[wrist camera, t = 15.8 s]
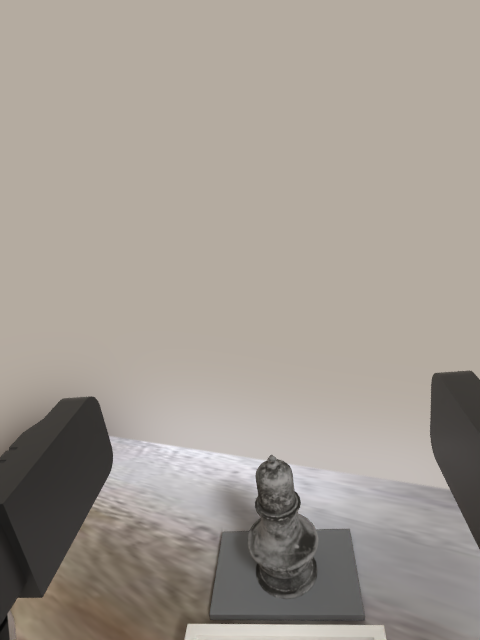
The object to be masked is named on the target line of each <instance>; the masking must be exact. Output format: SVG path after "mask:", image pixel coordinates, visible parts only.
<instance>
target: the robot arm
mask: <svg viewBox="0 0 480 640" xmlns="http://www.w3.org/2000/svg"><path fill="white" fill-rule="evenodd" d="M430 423H431V424H430V435H431V436H430V437H431V443H432V449H433V453H434V456H435V459H436V461H437V463H438V465H439V467H440V469H441V471H442V474H443V476H444V478H445V480H446V482H447V484H448V486H449V488H450V490H451V492H452V494H453V496H454V498H455V500H456V502H457V504H458V506H459V508H460V510H461V512H462V514H463V516H464V518H465V520H466V522H467V524H468V526H469V528H470V531H471V533H472V535H473V537H474V539H475V541H476V543H477V545H478V547H479V549H480V380H479V378H478V377H477V376H476V375H475V374H474V373H473V372H472V371H458V372H445V373H435V374H434V375H433V377H432V384H431V422H430ZM112 463H113V451H112V446H111V443H110V439H109V436H108V432H107V429H106V425H105V422H104V419H103V415H102V412H101V408H100V405H99V403H98V401H97V399H96V398H95V397H79V398H65V399H62V400H60V401H59V402H58V404H57V405H56V406H55V407H54V408H53V409H52V410H51V412H49V413H48V415H47V416H46V417H45V418H44V419H43V420H41V421H40V422H38V423H37V424H35V425H34V426H32V427H31V428H29V429H28V430H26V431H25V432H23V433H22V434H21V435H20V437H19V438H18V439H17V440H16V441H15V442H14V443H13V444H12V445H11V446H10V447H9V451H6V452H5V453H4V454H3V455H2V456H1V457H0V640H17V638H16V629H15V621H14V617H13V615H12V613H11V611H10V609H11V607H12V606H13V604H14V602H15V601H16V599H17V598H42V597H43V596H44V594H45V592H46V590H47V588H48V586H49V585H50V583H51V581H52V579H53V577H54V575H55V574H56V572H57V570H58V568H59V566H60V564H61V562H62V561H63V559H64V557H65V555H66V553H67V551H68V550H69V548H70V546H71V544H72V542H73V540H74V539H75V537H76V535H77V533H78V531H79V529H80V527H81V526H82V524H83V522H84V520H85V518H86V516H87V515H88V513H89V511H90V509H91V507H92V505H93V503H94V502H95V500H96V498H97V496H98V494H99V492H100V491H101V489H102V487H103V485H104V483H105V481H106V480H107V478H108V476H109V474H110V471H111V468H112Z"/></svg>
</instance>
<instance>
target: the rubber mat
mask: <svg viewBox="0 0 480 640" xmlns="http://www.w3.org/2000/svg"><path fill="white" fill-rule="evenodd" d="M316 531H317V535H318V548H317V550H316V552H315V555H314V556H313V557H314V558H315V560H316V563H317V568H318V572H317V579H316V581H315V583H314V585H313V586H312V588H311V589H310V590H309V591H308V592H306V593H305V594H304V595H302V596H300V597H297V598H294V599H280V598H276V597H274V596H271V595H269V594H268V593H267V592H266V591H264V590H263V589H262V587H261V586H260V584H259V583H258V580H257V577H256V565H257V562H256V561H255V560H254V559H253V557H252V556H251V555H250V552H249V549H248V542H247V538H248V535H249V531H237V532H223V534H222V540H221V546H220V552H219V559H218V565H217V571H216V577H215V583H214V590H213V596H212V602H211V608H210V614H209V615H210V619H211V620H361V621H365V614H364V608H363V603H362V597H361V591H360V585H359V580H358V574H357V568H356V562H355V556H354V551H353V545H352V539H351V533H350V529H322V530H316Z"/></svg>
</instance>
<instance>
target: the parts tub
mask: <svg viewBox="0 0 480 640" xmlns="http://www.w3.org/2000/svg"><path fill="white" fill-rule="evenodd" d="M185 640H387V639H386V634H385V630H384V625H284V624H188V625H187V630H186V635H185Z"/></svg>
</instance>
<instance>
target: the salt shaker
mask: <svg viewBox="0 0 480 640" xmlns="http://www.w3.org/2000/svg"><path fill="white" fill-rule="evenodd" d="M256 483H257V489H258V497H257V498H256V501H255V508H256V510H257V513H258V514H259V515H260V516H261V518H260V519H259V520H258V521H257V522H256V523H255V524H254V525H253V526H252V528H251V530H250V531H249V535H248V538H247V542H248V549H249V552H250V555H251V556H252V557H253V559H254V560H255V561H256V562H257V565H256V577H257V580H258V583H259V584H260V586H261V587H262V589H263V590H264V591H266V592H267V593H268V594H269V595H271V596H274V597H276V598H280V599H294V598H297V597H300V596H302V595H304V594H305V593H306V592H308V591H309V590H310V589H311V588H312V586H313V585H314V583H315V581H316V579H317V572H318V568H317V563H316V560H315V558H314V557H313V556H314V555H315V552H316V550H317V548H318V535H317V531H316V529H315V527H314V525H313V524H312V523H311V522H310V521H309V520H308V519H307V518H305V517H304V516H302V515H300V514H298V510H299V508H300V503H301V502H300V497H299V496H298V494H297V493H296V492H295V491H294V483H293V474H292V470H291V468H290V466H289V465H288V464H287V463H285V462H284V461H281V460H278V459H276V458H275V457H274V456H273V455H270V457H269V458H268V461H265V462H263V463H262V464H261V465H260V466H259V467H258V469H257V471H256Z"/></svg>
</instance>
